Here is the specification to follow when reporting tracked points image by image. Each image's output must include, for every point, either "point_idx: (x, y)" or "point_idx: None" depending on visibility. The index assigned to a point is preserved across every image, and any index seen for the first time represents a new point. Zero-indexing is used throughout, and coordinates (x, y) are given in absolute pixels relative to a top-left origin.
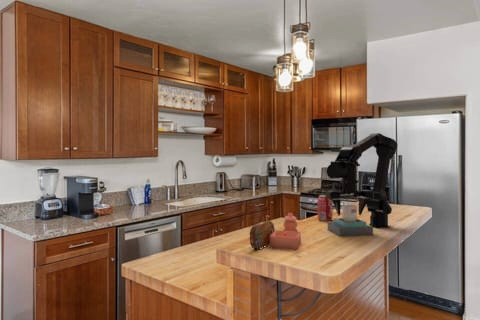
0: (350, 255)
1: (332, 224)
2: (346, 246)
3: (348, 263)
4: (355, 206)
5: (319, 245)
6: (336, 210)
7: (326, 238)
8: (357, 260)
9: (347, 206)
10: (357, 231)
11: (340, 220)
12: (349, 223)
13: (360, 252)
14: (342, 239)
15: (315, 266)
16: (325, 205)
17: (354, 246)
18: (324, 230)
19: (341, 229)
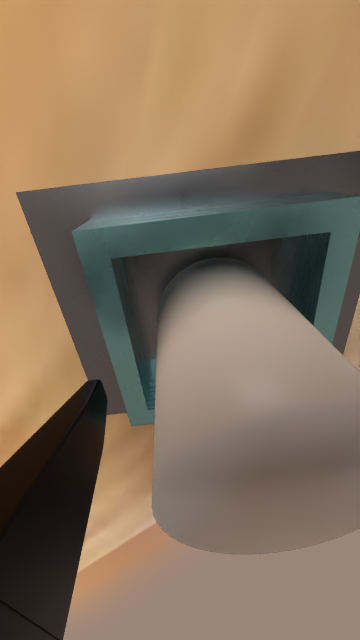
0: (98, 536)
1: (65, 288)
2: (106, 487)
3: (81, 563)
4: (331, 538)
5: None
6: (47, 433)
7: (32, 408)
8: (107, 553)
9: (205, 543)
10: None
11: (127, 348)
12: None
13: (134, 521)
14: (112, 421)
15: None
16: None
17: (135, 487)
18: (18, 217)
19: (113, 411)
